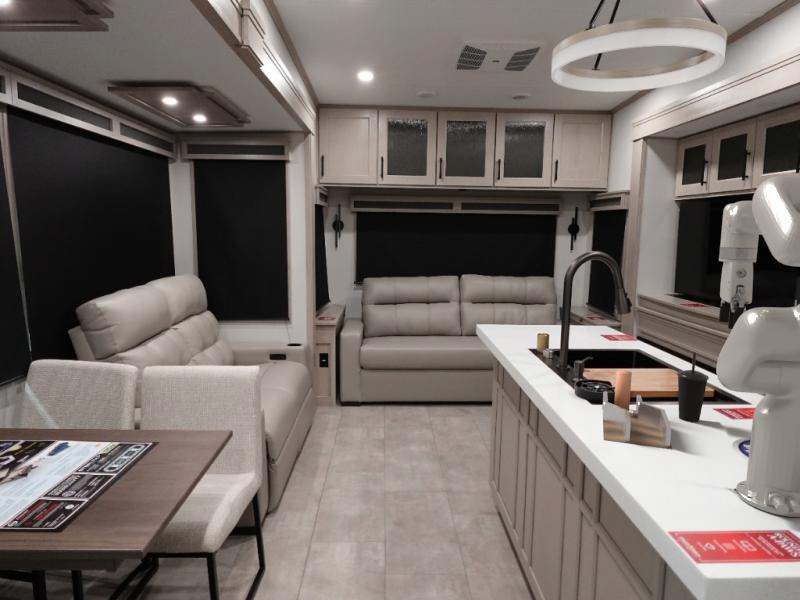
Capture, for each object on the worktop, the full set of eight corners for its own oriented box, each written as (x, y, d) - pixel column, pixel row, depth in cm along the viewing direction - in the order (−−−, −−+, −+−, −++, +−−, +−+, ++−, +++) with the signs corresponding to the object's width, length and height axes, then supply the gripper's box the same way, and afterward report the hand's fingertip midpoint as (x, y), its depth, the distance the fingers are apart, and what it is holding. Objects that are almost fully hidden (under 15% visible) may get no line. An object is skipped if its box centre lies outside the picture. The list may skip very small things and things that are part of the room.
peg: (629, 415, 146) (632, 374, 145) (614, 413, 148) (616, 373, 146) (628, 411, 150) (631, 370, 148) (613, 409, 152) (616, 369, 150)
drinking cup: (669, 422, 145) (675, 352, 142) (678, 415, 150) (683, 347, 147) (699, 429, 139) (706, 357, 136) (707, 422, 145) (714, 352, 142)
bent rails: (669, 447, 126) (671, 427, 125) (603, 438, 131) (604, 419, 130) (658, 414, 148) (660, 397, 147) (602, 407, 153) (603, 391, 152)
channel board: (672, 453, 125) (672, 449, 125) (603, 443, 130) (603, 439, 130) (660, 416, 149) (660, 412, 149) (602, 409, 154) (602, 406, 154)
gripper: (767, 257, 115) (759, 333, 117) (746, 253, 131) (739, 320, 133) (728, 257, 117) (721, 331, 120) (712, 253, 133) (706, 318, 136)
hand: (730, 325), depth 126 cm, fingers open, 9 cm apart
